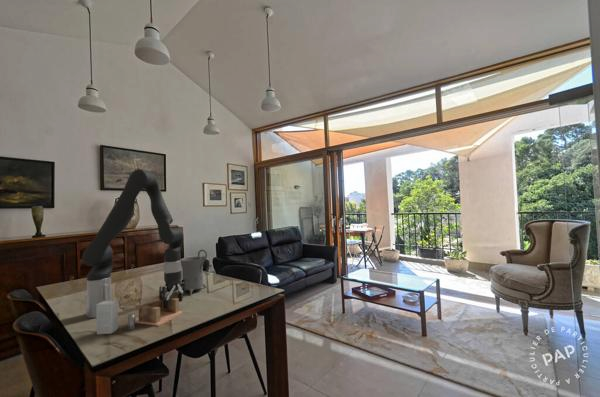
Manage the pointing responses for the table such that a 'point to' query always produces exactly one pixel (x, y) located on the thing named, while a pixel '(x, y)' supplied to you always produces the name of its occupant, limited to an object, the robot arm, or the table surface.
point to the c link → (157, 310)
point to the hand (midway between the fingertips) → (173, 304)
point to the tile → (161, 318)
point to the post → (131, 322)
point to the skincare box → (107, 317)
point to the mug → (193, 271)
